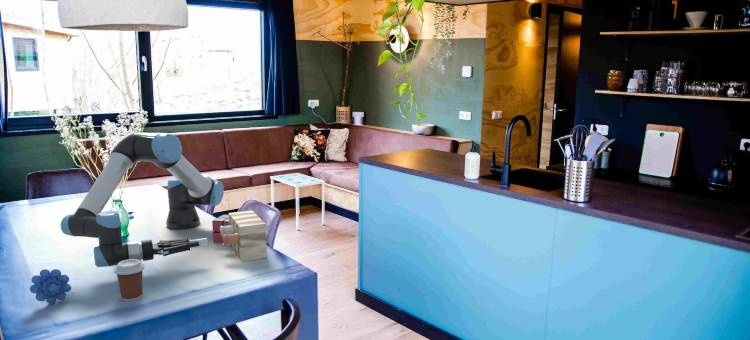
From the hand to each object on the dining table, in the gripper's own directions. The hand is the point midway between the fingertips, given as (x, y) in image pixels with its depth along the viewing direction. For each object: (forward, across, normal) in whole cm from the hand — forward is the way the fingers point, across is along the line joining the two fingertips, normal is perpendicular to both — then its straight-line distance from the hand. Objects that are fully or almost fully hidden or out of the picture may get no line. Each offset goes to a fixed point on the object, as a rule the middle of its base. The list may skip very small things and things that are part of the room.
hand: (207, 241), depth 213 cm
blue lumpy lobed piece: (-51, +16, -9) cm, 55 cm away
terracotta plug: (+13, 0, -3) cm, 13 cm away
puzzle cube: (+13, -24, -9) cm, 28 cm away
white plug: (+15, -12, -3) cm, 19 cm away
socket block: (+17, -6, -8) cm, 20 cm away
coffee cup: (-29, +22, -9) cm, 37 cm away
